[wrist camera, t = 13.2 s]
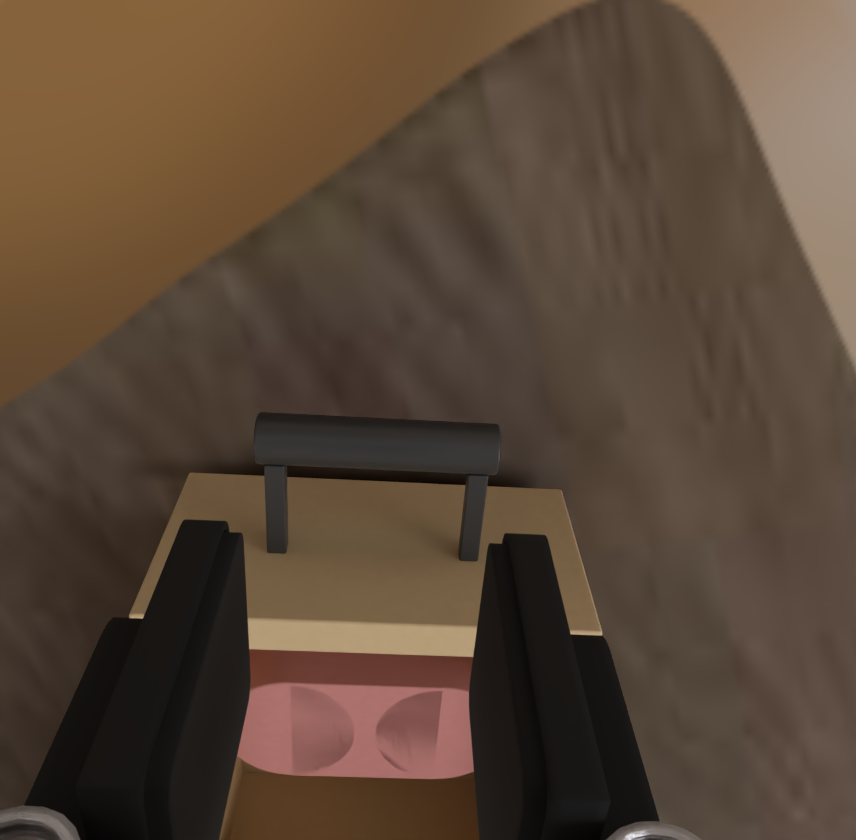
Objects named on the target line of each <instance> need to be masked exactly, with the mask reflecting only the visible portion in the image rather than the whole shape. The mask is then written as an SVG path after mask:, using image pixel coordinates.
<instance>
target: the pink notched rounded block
mask: <svg viewBox="0 0 856 840" xmlns="http://www.w3.org/2000/svg"><path fill="white" fill-rule="evenodd" d="M249 654H250V674H251V682H250V695H249V702H248V707H247V712H246V717H245V721H244V726H243V731H242V735H241V740H240V744H239V749H238V754H237V756H238V757H239V758H240V759H242V760H243V761H245V762H246V763H248V764H250V765H252V766H254V767H256V768H258V769H261V770H264V771H267V772H271V773H276V774H284V775H297V776H334V777H370V778H407V779H445V778H453V777H459V776H462V775H466V774H469V773H471V772H474V766H473V753H472V741H471V728H470V716H469V686H470V677H471V670H472V662H473V657H457V656H429V655H400V654H372V653H343V652H315V651H286V650H258V649H249Z"/></svg>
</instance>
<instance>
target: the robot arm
mask: <svg viewBox="0 0 856 840" xmlns="http://www.w3.org/2000/svg"><path fill="white" fill-rule="evenodd" d="M250 682H251V674H250V654H249V635H248V615H247V596H246V576H245V557H244V539H243V534H242V533H239V532H229V526H228V522H226V521H215V520H191V519H185V520H183V521H182V523H181V525H180V527H179V530H178V532H177V535H176V537H175V540H174V542H173V545H172V547H171V550H170V552H169V555H168V557H167V560H166V562H165V565H164V567H163V570H162V572H161V575H160V577H159V580H158V582H157V585H156V587H155V590H154V592H153V595H152V597H151V600H150V602H149V605H148V607H147V610H146V612H145V614H144V617H143V619H139V618H113V619H111V620H110V621H109V622H108V624H107V625H106V627H105V629H104V631H103V633H102V635H101V637H100V639H99V641H98V644H97V646H96V648H95V650H94V652H93V655H92V657H91V659H90V661H89V663H88V666H87V668H86V670H85V672H84V674H83V677H82V679H81V681H80V683H79V686H78V688H77V690H76V692H75V694H74V697H73V699H72V701H71V703H70V705H69V708H68V710H67V712H66V714H65V716H64V719H63V721H62V723H61V725H60V727H59V730H58V732H57V734H56V736H55V739H54V741H53V743H52V745H51V747H50V750H49V752H48V754H47V756H46V758H45V761H44V763H43V765H42V767H41V769H40V772H39V774H38V776H37V778H36V780H35V783H34V785H33V787H32V789H31V791H30V794H29V796H28V798H27V800H26V803H25V805H24V806H17V807H12V808H7V809H2V810H0V840H219V838H220V833H221V828H222V824H223V819H224V814H225V810H226V805H227V800H228V796H229V791H230V786H231V782H232V777H233V772H234V768H235V763H236V758H237V754H238V749H239V744H240V740H241V735H242V731H243V726H244V721H245V717H246V712H247V707H248V702H249V695H250ZM469 716H470V728H471V741H472V753H473V766H474V778H475V790H476V803H477V815H478V828H479V840H703V839H701V838H699V837H697V836H696V835H694V834H692V833H690V832H688V831H687V830H685V829H683V828H681V827H678V826H674V825H670V824H667V823H663V822H660V821H659V818H658V814H657V811H656V807H655V804H654V800H653V797H652V794H651V790H650V787H649V783H648V780H647V776H646V773H645V769H644V766H643V763H642V759H641V756H640V752H639V749H638V745H637V742H636V738H635V735H634V732H633V728H632V725H631V721H630V718H629V714H628V711H627V708H626V704H625V701H624V697H623V694H622V690H621V687H620V683H619V680H618V677H617V673H616V670H615V666H614V663H613V659H612V656H611V652H610V649H609V647H608V644H607V642H606V640H605V639H604V637H603V636H601V635H574V634H570V629H569V625H568V621H567V617H566V613H565V609H564V604H563V600H562V596H561V592H560V588H559V584H558V579H557V575H556V571H555V567H554V563H553V559H552V554H551V550H550V546H549V542H548V539H547V536H546V535H539V534H516V533H505V534H504V537H503V540H502V544H498V543H489V545H488V549H487V556H486V564H485V571H484V579H483V586H482V594H481V601H480V609H479V617H478V624H477V632H476V639H475V647H474V654H473V662H472V670H471V677H470V686H469Z"/></svg>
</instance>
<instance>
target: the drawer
mask: <svg viewBox="0 0 856 840" xmlns="http://www.w3.org/2000/svg"><path fill="white" fill-rule="evenodd" d="M500 455H501V432H500V427H499V425H497V424H485V423H465V422H445V421H425V420H405V419H386V418H366V417H346V416H326V415H306V414H286V413H266V412H261V413H259V414H258V416H257V419H256V423H255V430H254V458H255V462H256V463H257V464H265V465H264V476H257V475H235V474H213V473H189V475H188V477H187V480H186V482H185V485H184V487H183V489H182V492H181V494H180V496H179V499H178V501H177V503H176V506H175V508H174V510H173V513H172V515H171V517H170V520H169V522H168V525H167V527H166V529H165V532H164V534H163V536H162V539H161V541H160V543H159V546H158V548H157V550H156V553H155V555H154V558H153V560H152V562H151V565H150V567H149V569H148V572H147V574H146V576H145V579H144V581H143V583H142V586H141V588H140V591H139V593H138V595H137V598H136V600H135V602H134V605H133V607H132V609H131V612H130V614H129V618H139V619H143V617H144V614H145V612H146V610H147V607H148V605H149V602H150V600H151V597H152V595H153V592H154V590H155V587H156V585H157V582H158V580H159V577H160V575H161V572H162V570H163V567H164V565H165V562H166V560H167V557H168V555H169V552H170V550H171V547H172V545H173V542H174V540H175V537H176V535H177V532H178V530H179V527H180V525H181V523H182V521H183V520H185V519H191V520H215V521H226V522H228V526H229V532H239V533H242V534H243V539H244V557H245V576H246V596H247V615H248V635H249V649H258V650H286V651H315V652H343V653H372V654H400V655H429V656H457V657H473V654H474V647H475V639H476V632H477V624H478V617H479V609H480V601H481V594H482V586H483V579H484V571H485V564H486V556H487V549H488V545H489V543H498V544H502V540H503V537H504V534H505V533H516V534H539V535H546V536H547V539H548V542H549V546H550V550H551V554H552V559H553V563H554V567H555V571H556V575H557V579H558V584H559V588H560V592H561V596H562V600H563V604H564V609H565V613H566V617H567V621H568V625H569V629H570V634H574V635H601V636H602V630H601V626H600V623H599V619H598V616H597V612H596V609H595V605H594V602H593V598H592V595H591V591H590V588H589V584H588V581H587V577H586V574H585V570H584V567H583V564H582V560H581V557H580V553H579V550H578V546H577V543H576V539H575V536H574V532H573V529H572V525H571V522H570V518H569V515H568V511H567V508H566V504H565V501H564V497H563V494H562V491H561V490H559V489H538V488H517V487H495V486H487V485H488V475H496V474H497V472H498V469H499V464H500ZM287 465H291V466H312V467H334V468H355V469H376V470H398V471H419V472H441V473H462V474H467V475H466V484H465V485H452V484H430V483H408V482H387V481H365V480H343V479H322V478H300V477H287ZM219 840H479V828H478V815H477V803H476V790H475V778H474V772H471V773H469V774H466V775H462V776H459V777H453V778H445V779H407V778H370V777H334V776H297V775H284V774H276V773H271V772H267V771H264V770H261V769H258V768H256V767H254V766H252V765H250V764H248V763H246V762H245V761H243V760H242V759H240V758H239V757H238V756H237V758H236V763H235V768H234V772H233V777H232V782H231V786H230V791H229V796H228V800H227V805H226V810H225V814H224V819H223V824H222V828H221V833H220V838H219Z"/></svg>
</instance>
